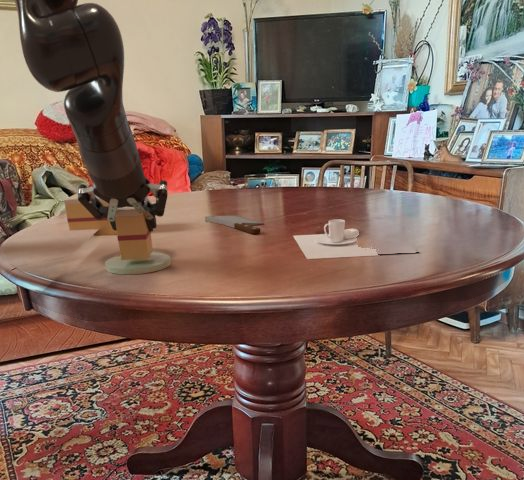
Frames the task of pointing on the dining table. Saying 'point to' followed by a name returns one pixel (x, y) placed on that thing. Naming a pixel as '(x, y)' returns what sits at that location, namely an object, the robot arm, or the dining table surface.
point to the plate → (138, 264)
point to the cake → (86, 217)
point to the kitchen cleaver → (236, 223)
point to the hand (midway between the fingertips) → (135, 227)
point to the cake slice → (132, 234)
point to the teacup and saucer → (333, 243)
